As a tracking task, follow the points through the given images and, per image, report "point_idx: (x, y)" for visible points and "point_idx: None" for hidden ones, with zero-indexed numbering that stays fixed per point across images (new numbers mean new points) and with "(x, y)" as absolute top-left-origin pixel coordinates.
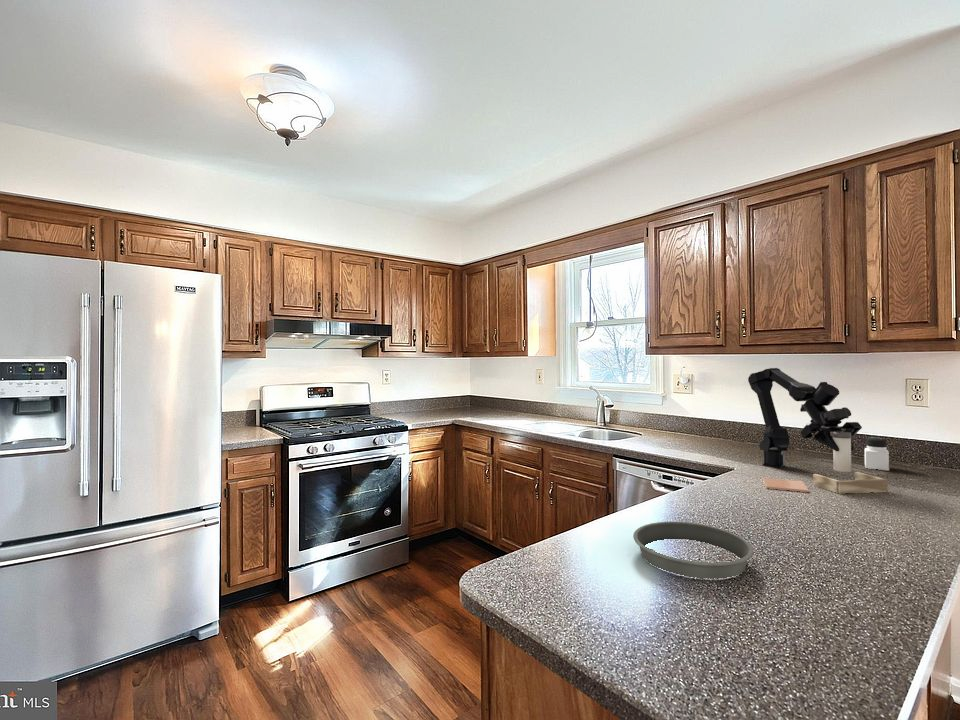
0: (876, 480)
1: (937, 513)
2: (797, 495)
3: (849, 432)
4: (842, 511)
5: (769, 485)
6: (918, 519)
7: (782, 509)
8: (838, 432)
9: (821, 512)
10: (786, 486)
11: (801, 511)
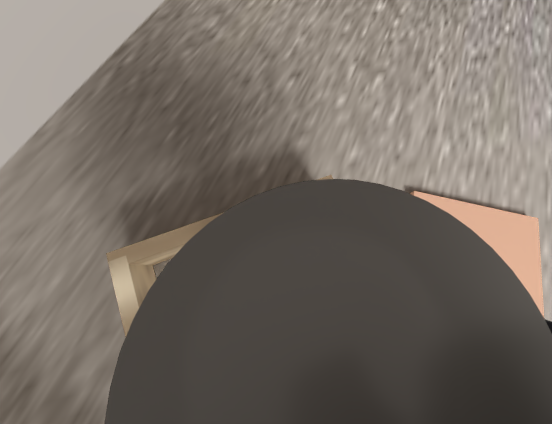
0: (164, 233)
1: (150, 48)
2: (448, 156)
3: (127, 422)
4: (375, 36)
5: (527, 232)
6: (231, 4)
7: (502, 33)
8: (450, 358)
9: (423, 24)
10: (475, 228)
11: (464, 25)
